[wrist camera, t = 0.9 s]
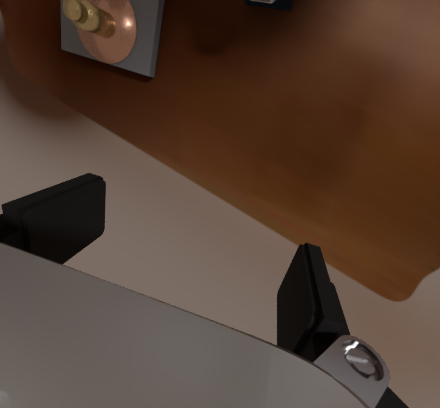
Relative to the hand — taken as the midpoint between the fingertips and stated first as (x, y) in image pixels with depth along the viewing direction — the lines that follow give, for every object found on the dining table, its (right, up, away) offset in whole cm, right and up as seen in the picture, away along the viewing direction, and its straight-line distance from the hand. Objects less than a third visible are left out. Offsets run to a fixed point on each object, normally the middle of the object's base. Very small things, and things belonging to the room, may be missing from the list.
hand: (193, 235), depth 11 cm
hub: (-14, +26, +21) cm, 36 cm away
